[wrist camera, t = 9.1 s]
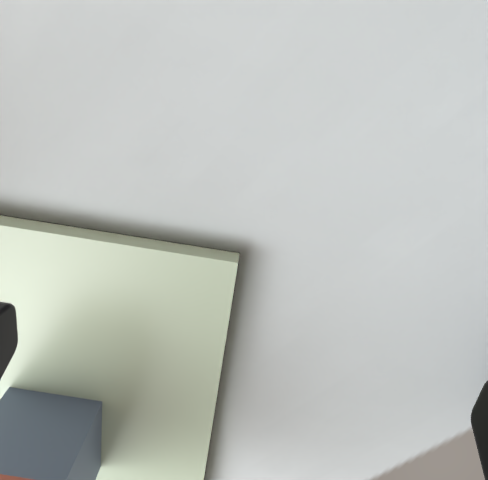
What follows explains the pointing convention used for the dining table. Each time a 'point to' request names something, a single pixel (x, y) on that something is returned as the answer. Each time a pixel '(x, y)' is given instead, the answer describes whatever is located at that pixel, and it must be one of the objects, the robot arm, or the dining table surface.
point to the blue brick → (49, 436)
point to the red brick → (12, 477)
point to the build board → (122, 337)
